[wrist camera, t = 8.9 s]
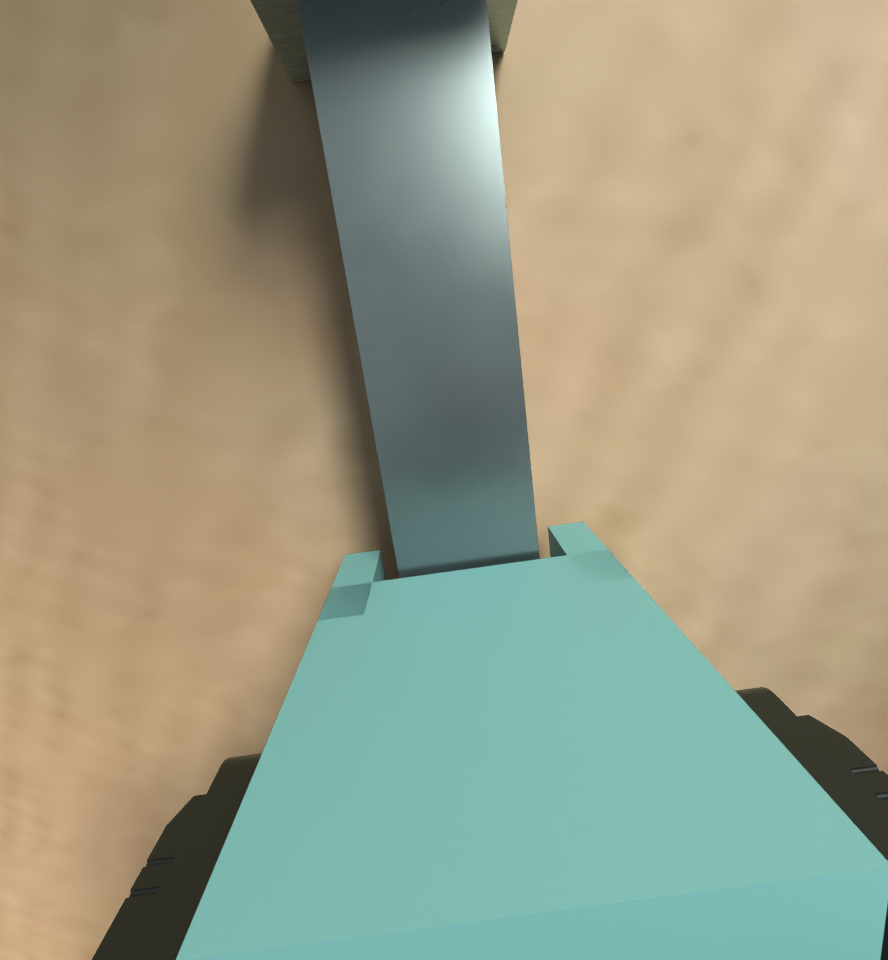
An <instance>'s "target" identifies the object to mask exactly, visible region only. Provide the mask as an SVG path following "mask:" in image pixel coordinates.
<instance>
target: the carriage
mask: <svg viewBox="0 0 888 960" xmlns="http://www.w3.org/2000/svg"><path fill="white" fill-rule="evenodd" d="M548 534H549V545H550V556H551V558H543V559H536V560H529V561H522V562H515V563H507V564H500V565H493V566H486V567H479V568H471V569H464V570H457V571H450V572H442V573H435V574H428V575H421V576H414V577H406V578H399V579H392V580H386V577H385V571H384V566H383V560H382V555H381V550H376V551H368V552H361V553H354V554H347V555H345V557H344V559H343V562H342V564H341V567H340V569H339V571H338V574H337V576H336V579H335V581H334V583H333V586H332V588H331V590H330V593H329V595H328V598H327V600H326V602H325V605H324V607H323V610H322V612H321V614H320V617H319V619H318V622H317V624H316V626H315V629H314V631H313V633H312V636H311V638H310V641H309V643H308V645H307V648H306V650H305V653H304V655H303V657H302V660H301V662H300V664H299V667H298V669H297V672H296V674H295V676H294V679H293V681H292V684H291V686H290V688H289V691H288V693H287V695H286V698H285V700H284V703H283V705H282V707H281V710H280V712H279V715H278V717H277V719H276V722H275V724H274V727H273V729H272V731H271V734H270V736H269V738H268V741H267V743H266V746H265V748H264V750H263V753H262V755H261V758H260V760H259V762H258V765H257V767H256V769H255V772H254V774H253V777H252V779H251V781H250V784H249V786H248V789H247V791H246V793H245V796H244V798H243V801H242V803H241V805H240V808H239V810H238V812H237V815H236V817H235V820H234V822H233V824H232V827H231V829H230V832H229V834H228V836H227V839H226V841H225V843H224V846H223V848H222V851H221V853H220V855H219V858H218V860H217V863H216V865H215V867H214V870H213V872H212V875H211V877H210V879H209V882H208V884H207V886H206V889H205V891H204V894H203V896H202V898H201V901H200V903H199V906H198V908H197V910H196V913H195V915H194V917H193V920H192V922H191V925H190V927H189V929H188V932H187V934H186V937H185V939H184V941H183V944H182V946H181V948H180V951H179V953H178V956H177V958H176V960H880V959H881V951H882V943H883V935H884V928H885V920H886V912H887V904H888V861H887V860H886V859H885V858H884V856H883V855H882V854H881V853H880V852H879V851H878V850H877V849H876V848H875V846H874V845H873V844H872V843H871V842H870V841H869V840H868V839H867V838H866V836H865V835H864V834H863V833H862V832H861V831H860V830H859V829H858V827H857V826H856V825H855V824H854V823H853V822H852V821H851V820H850V819H849V817H848V816H847V815H846V814H845V813H844V812H843V811H842V810H841V809H840V807H839V806H838V805H837V804H836V803H835V802H834V801H833V800H832V798H831V797H830V796H829V795H828V794H827V793H826V792H825V791H824V790H823V788H822V787H821V786H820V785H819V784H818V783H817V782H816V781H815V780H814V778H813V777H812V776H811V775H810V774H809V773H808V772H807V771H806V769H805V768H804V767H803V766H802V765H801V764H800V763H799V762H798V761H797V759H796V758H795V757H794V756H793V755H792V754H791V753H790V752H789V751H788V749H787V748H786V747H785V746H784V745H783V744H782V743H781V742H780V740H779V739H778V738H777V737H776V736H775V735H774V734H773V733H772V732H771V730H770V729H769V728H768V727H767V726H766V725H765V724H764V723H763V722H762V720H761V719H760V718H759V717H758V716H757V715H756V714H755V713H754V711H753V710H752V709H751V708H750V707H749V706H748V705H747V704H746V703H745V701H744V700H743V699H742V698H741V697H740V696H739V695H738V694H737V693H736V691H735V690H734V689H733V688H732V687H731V686H730V685H729V684H728V682H727V681H726V680H725V679H724V678H723V677H722V676H721V675H720V674H719V672H718V671H717V670H716V669H715V668H714V667H713V666H712V665H711V664H710V662H709V661H708V660H707V659H706V658H705V657H704V656H703V655H702V654H701V652H700V651H699V650H698V649H697V648H696V647H695V646H694V645H693V643H692V642H691V641H690V640H689V639H688V638H687V637H686V636H685V635H684V633H683V632H682V631H681V630H680V629H679V628H678V627H677V626H676V625H675V623H674V622H673V621H672V620H671V619H670V618H669V617H668V616H667V614H666V613H665V612H664V611H663V610H662V609H661V608H660V607H659V606H658V604H657V603H656V602H655V601H654V600H653V599H652V598H651V597H650V596H649V594H648V593H647V592H646V591H645V590H644V589H643V588H642V587H641V585H640V584H639V583H638V582H637V581H636V580H635V579H634V578H633V577H632V575H631V574H630V573H629V572H628V571H627V570H626V569H625V568H624V567H623V565H622V564H621V563H620V562H619V561H618V560H617V559H616V558H615V556H614V555H613V554H612V553H611V552H610V551H609V550H608V549H607V548H606V546H605V545H604V544H603V543H602V542H601V541H600V540H599V539H598V538H597V536H596V535H595V534H594V533H593V532H592V531H591V530H590V529H589V527H588V526H587V525H586V524H585V523H584V522H577V523H570V524H562V525H555V526H548Z"/></svg>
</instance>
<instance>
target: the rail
mask: <svg viewBox="0 0 888 960" xmlns="http://www.w3.org/2000/svg"><path fill="white" fill-rule="evenodd" d="M251 2H252V4H253V6H254V8H255V10H256V12H257V14H258V16H259V18H260V20H261V22H262V24H263V26H264V28H265V30H266V32H267V33H268V35H269V37H270V39H271V41H272V43H273V45H274V47H275V49H276V51H277V53H278V55H279V57H280V59H281V61H282V63H283V65H284V67H285V69H286V70H287V72H288V74H289V76H290V78H291V80H292V82H293V83H295V82H302V81H309V80H311V82H312V88H313V93H314V99H315V105H316V110H317V116H318V122H319V127H320V133H321V139H322V144H323V150H324V156H325V161H326V167H327V172H328V178H329V184H330V189H331V195H332V201H333V206H334V212H335V218H336V223H337V229H338V235H339V240H340V246H341V252H342V257H343V263H344V269H345V274H346V280H347V286H348V291H349V297H350V302H351V308H352V314H353V319H354V325H355V331H356V336H357V342H358V348H359V353H360V359H361V365H362V370H363V376H364V382H365V387H366V393H367V399H368V404H369V410H370V415H371V421H372V427H373V432H374V438H375V444H376V449H377V455H378V461H379V466H380V472H381V478H382V483H383V489H384V495H385V500H386V506H387V512H388V517H389V523H390V529H391V534H392V540H393V545H394V551H395V557H396V562H397V568H398V574H399V578H406V577H414V576H421V575H428V574H435V573H442V572H450V571H457V570H464V569H471V568H479V567H486V566H493V565H500V564H507V563H515V562H522V561H529V560H536V559H540V558H539V548H538V537H537V527H536V516H535V506H534V495H533V485H532V474H531V464H530V453H529V442H528V432H527V421H526V411H525V400H524V390H523V379H522V369H521V358H520V348H519V337H518V327H517V316H516V306H515V295H514V284H513V274H512V263H511V253H510V242H509V232H508V221H507V211H506V200H505V190H504V179H503V169H502V158H501V148H500V137H499V127H498V116H497V105H496V95H495V84H494V74H493V63H492V53H497V52H504V51H505V48H506V44H507V40H508V36H509V32H510V28H511V24H512V20H513V16H514V12H515V8H516V4H517V0H251Z"/></svg>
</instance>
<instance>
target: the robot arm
mask: <svg viewBox="0 0 888 960" xmlns="http://www.w3.org/2000/svg"><path fill="white" fill-rule="evenodd" d="M736 693H737V694H738V695H739V696H740V697H741V698H742V699H743V700H744V701H745V703H746V704H747V705H748V706H749V707H750V708H751V709H752V710H753V711H754V713H755V714H756V715H757V716H758V717H759V718H760V719H761V720H762V722H763V723H764V724H765V725H766V726H767V727H768V728H769V729H770V730H771V732H772V733H773V734H774V735H775V736H776V737H777V738H778V739H779V740H780V742H781V743H782V744H783V745H784V746H785V747H786V748H787V749H788V751H789V752H790V753H791V754H792V755H793V756H794V757H795V758H796V759H797V761H798V762H799V763H800V764H801V765H802V766H803V767H804V768H805V769H806V771H807V772H808V773H809V774H810V775H811V776H812V777H813V778H814V780H815V781H816V782H817V783H818V784H819V785H820V786H821V787H822V788H823V790H824V791H825V792H826V793H827V794H828V795H829V796H830V797H831V798H832V800H833V801H834V802H835V803H836V804H837V805H838V806H839V807H840V809H841V810H842V811H843V812H844V813H845V814H846V815H847V816H848V817H849V819H850V820H851V821H852V822H853V823H854V824H855V825H856V826H857V827H858V829H859V830H860V831H861V832H862V833H863V834H864V835H865V836H866V838H867V839H868V840H869V841H870V842H871V843H872V844H873V845H874V846H875V848H876V849H877V850H878V851H879V852H880V853H881V854H882V855H883V856H884V858H885V859H886V860H887V861H888V775H887V774H886V773H885V772H884V771H879V770H878V768H877V765H876V764H875V763H874V762H873V761H872V760H871V759H870V758H869V757H867V756H866V755H865V754H864V753H863V752H862V751H861V750H860V749H859V748H858V747H857V746H856V745H854V744H853V743H852V742H851V741H850V740H849V739H848V738H847V737H846V736H844V735H842V734H841V733H839V732H837V731H835V730H834V729H832V728H830V727H828V726H827V725H825V724H823V723H822V722H820V721H818V720H816V719H815V718H813V717H811V716H810V715H805V716H798V717H797V716H796V715H795V714H794V713H793V712H792V711H791V710H790V709H789V708H788V707H787V706H786V705H785V704H784V703H783V702H782V701H781V700H780V699H779V698H778V697H777V696H776V695H775V694H774V693H773V692H772V691H770V690H769V689H767V688H764V687H760V688H753V689H745V690H738V691H736ZM261 755H262V753H261V754H254V755H247V756H239V757H232V758H228V759H226V760H225V761H224V762H223V764H222V765H221V767H220V769H219V771H218V773H217V775H216V777H215V779H214V781H213V783H212V785H211V786H210V788H209V790H208V792H207V794H206V795H199V796H194V797H193V798H192V799H191V800H190V801H189V802H188V803H187V804H186V805H185V806H184V807H183V808H182V810H181V811H180V812H179V813H178V814H177V815H176V816H175V817H174V818H173V819H172V820H171V821H170V823H169V824H168V825H167V826H166V827H165V829H164V831H163V833H162V835H161V836H160V838H159V840H158V842H157V844H156V845H155V847H154V849H153V851H152V853H151V854H150V856H149V858H148V860H147V866H146V867H143V869H142V870H141V872H140V874H139V876H138V878H137V879H136V881H135V883H134V885H133V887H132V888H131V894H130V897H129V898H126V899H125V901H124V903H123V905H122V906H121V908H120V910H119V912H118V914H117V915H116V917H115V919H114V921H113V923H112V924H111V926H110V928H109V930H108V931H107V933H106V935H105V937H104V939H103V940H102V942H101V944H100V946H99V948H98V949H97V951H96V953H95V955H94V957H93V958H92V960H176V958H177V956H178V953H179V951H180V948H181V946H182V944H183V941H184V939H185V937H186V934H187V932H188V929H189V927H190V925H191V922H192V920H193V917H194V915H195V913H196V910H197V908H198V906H199V903H200V901H201V898H202V896H203V894H204V891H205V889H206V886H207V884H208V882H209V879H210V877H211V875H212V872H213V870H214V867H215V865H216V863H217V860H218V858H219V855H220V853H221V851H222V848H223V846H224V843H225V841H226V839H227V836H228V834H229V832H230V829H231V827H232V824H233V822H234V820H235V817H236V815H237V812H238V810H239V808H240V805H241V803H242V801H243V798H244V796H245V793H246V791H247V789H248V786H249V784H250V781H251V779H252V777H253V774H254V772H255V769H256V767H257V765H258V762H259V760H260V758H261ZM880 960H888V904H887V912H886V920H885V928H884V935H883V943H882V951H881V959H880Z"/></svg>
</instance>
